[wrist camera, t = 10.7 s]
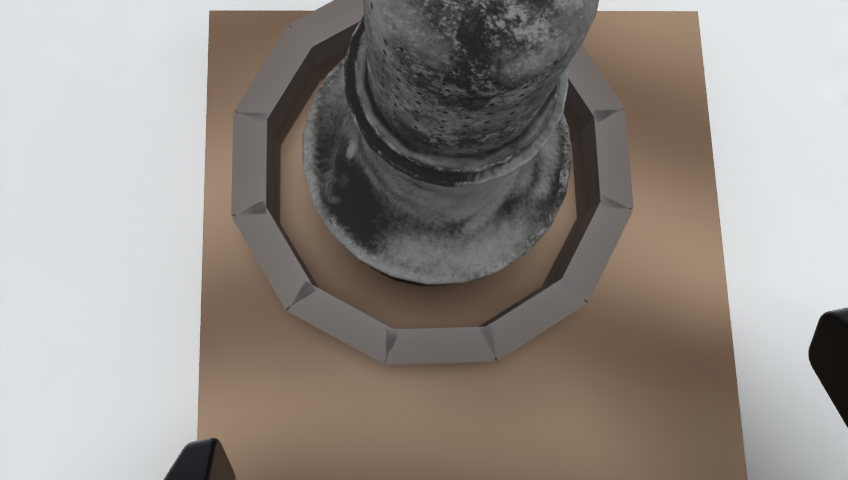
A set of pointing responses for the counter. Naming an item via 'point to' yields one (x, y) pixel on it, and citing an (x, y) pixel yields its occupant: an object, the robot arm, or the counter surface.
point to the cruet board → (470, 286)
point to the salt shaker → (445, 134)
